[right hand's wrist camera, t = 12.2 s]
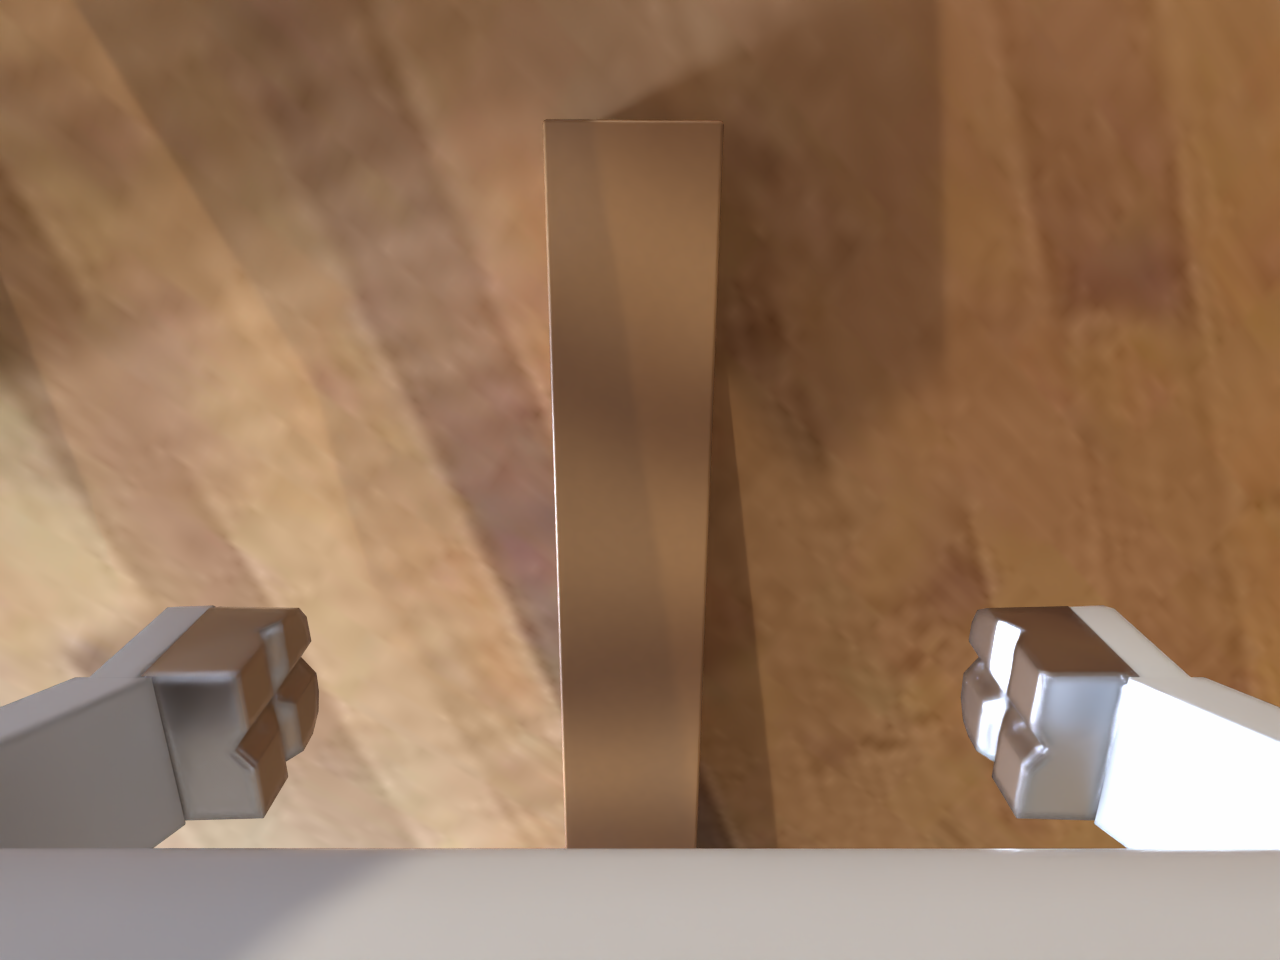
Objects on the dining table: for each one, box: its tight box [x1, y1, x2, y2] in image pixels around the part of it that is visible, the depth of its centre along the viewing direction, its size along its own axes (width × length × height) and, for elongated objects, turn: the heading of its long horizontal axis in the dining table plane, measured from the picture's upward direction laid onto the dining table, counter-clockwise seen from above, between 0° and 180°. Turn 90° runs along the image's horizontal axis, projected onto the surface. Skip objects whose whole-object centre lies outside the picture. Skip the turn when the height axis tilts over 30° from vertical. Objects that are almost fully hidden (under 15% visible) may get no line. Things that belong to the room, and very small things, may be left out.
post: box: [543, 119, 724, 849], centre depth 37 cm, size 69×5×9 cm, turn 0°
